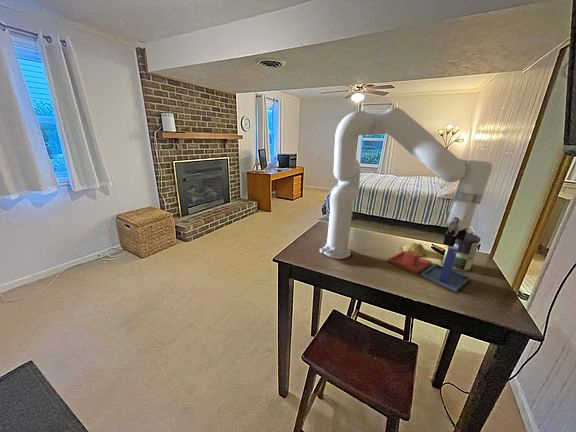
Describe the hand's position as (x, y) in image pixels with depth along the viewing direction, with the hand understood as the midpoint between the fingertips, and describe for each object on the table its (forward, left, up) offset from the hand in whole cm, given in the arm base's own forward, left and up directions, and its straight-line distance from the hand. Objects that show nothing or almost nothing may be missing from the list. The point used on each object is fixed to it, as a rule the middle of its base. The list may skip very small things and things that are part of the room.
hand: (453, 242), depth 89 cm
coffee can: (+16, +1, -16) cm, 23 cm away
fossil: (+13, +18, -16) cm, 27 cm away
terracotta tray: (0, +14, -16) cm, 21 cm away
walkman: (0, 0, -15) cm, 15 cm away
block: (0, +13, -15) cm, 20 cm away
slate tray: (0, 0, -16) cm, 16 cm away
